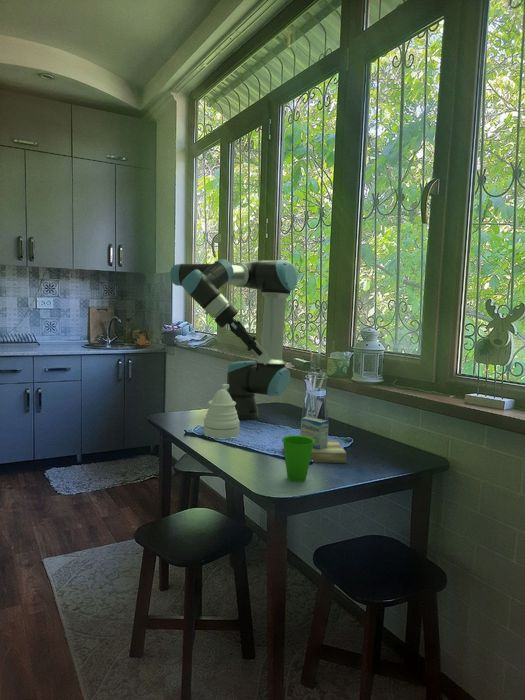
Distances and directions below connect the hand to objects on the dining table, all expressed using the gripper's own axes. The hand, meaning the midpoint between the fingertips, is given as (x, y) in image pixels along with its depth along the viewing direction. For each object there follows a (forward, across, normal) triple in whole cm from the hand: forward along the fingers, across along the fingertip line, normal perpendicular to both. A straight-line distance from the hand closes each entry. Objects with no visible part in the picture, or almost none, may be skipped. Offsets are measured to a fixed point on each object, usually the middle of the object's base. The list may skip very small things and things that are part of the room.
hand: (266, 359), depth 159 cm
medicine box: (+30, +6, -8) cm, 32 cm away
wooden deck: (+32, +6, -10) cm, 34 cm away
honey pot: (+11, -16, -31) cm, 37 cm away
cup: (+26, +27, -16) cm, 41 cm away
